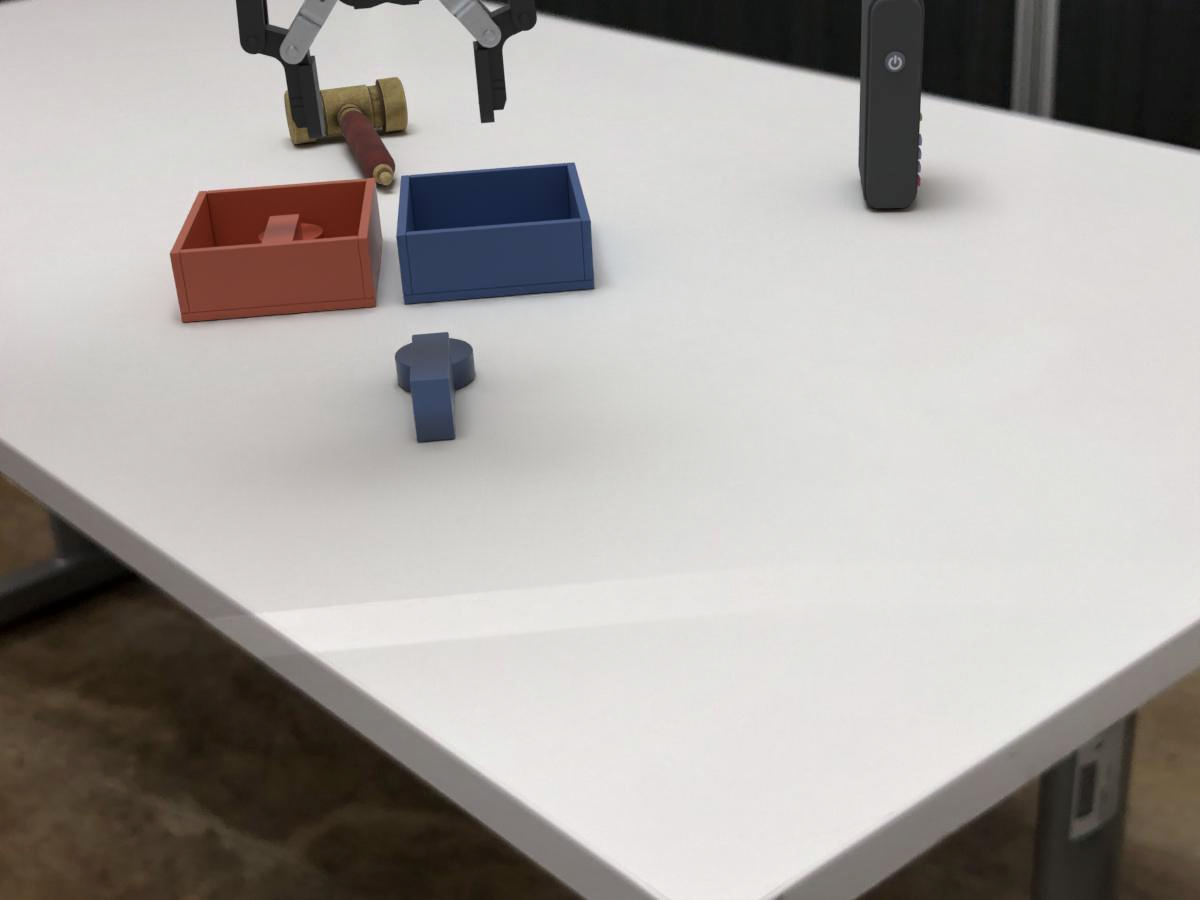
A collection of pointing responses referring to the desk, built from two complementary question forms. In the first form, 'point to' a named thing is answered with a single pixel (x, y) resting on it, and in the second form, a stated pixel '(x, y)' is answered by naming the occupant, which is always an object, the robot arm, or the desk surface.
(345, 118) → the gavel
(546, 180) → the blue bin
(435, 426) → the blue disc with bar
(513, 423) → the desk surface
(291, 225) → the red bar with disc
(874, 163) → the card reader
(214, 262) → the red bin
